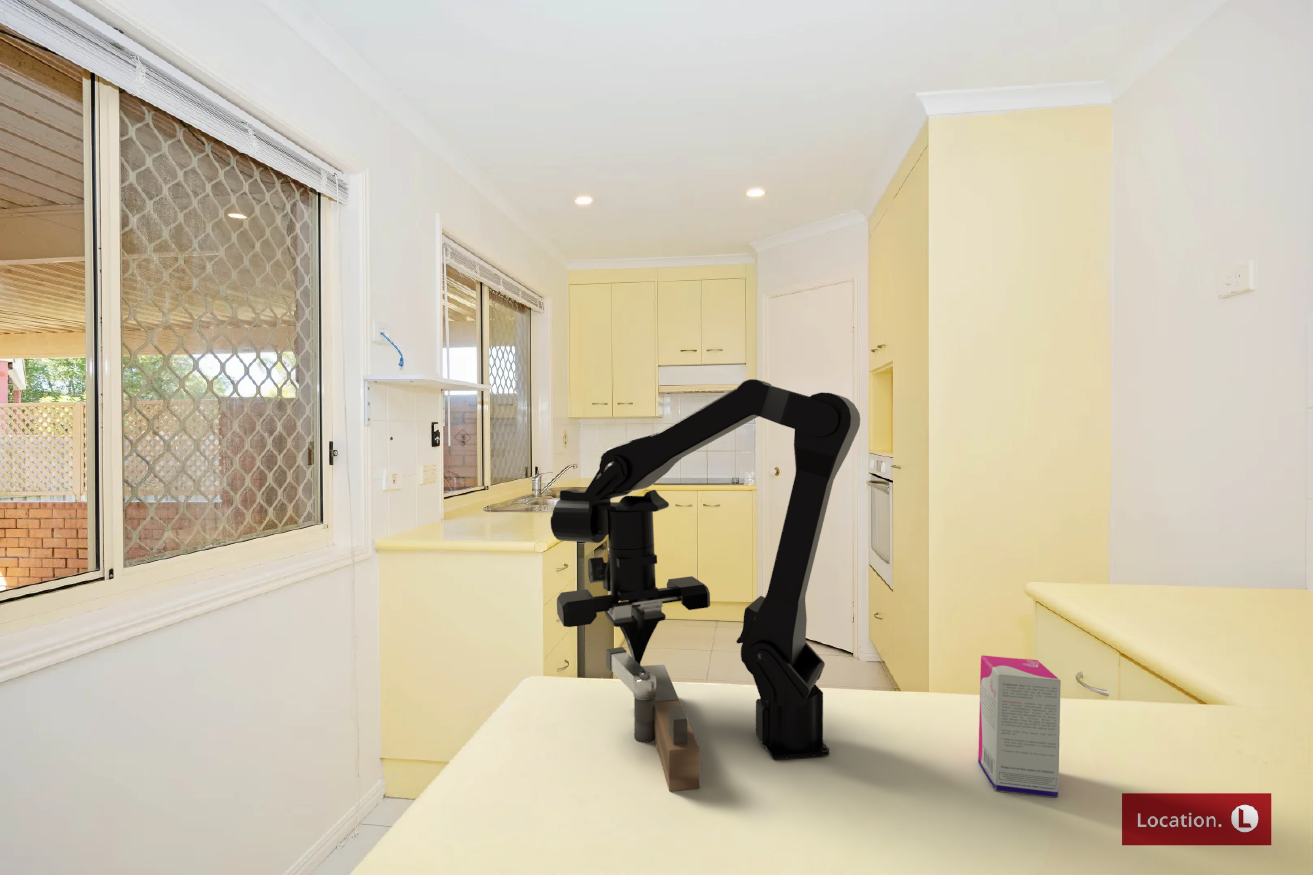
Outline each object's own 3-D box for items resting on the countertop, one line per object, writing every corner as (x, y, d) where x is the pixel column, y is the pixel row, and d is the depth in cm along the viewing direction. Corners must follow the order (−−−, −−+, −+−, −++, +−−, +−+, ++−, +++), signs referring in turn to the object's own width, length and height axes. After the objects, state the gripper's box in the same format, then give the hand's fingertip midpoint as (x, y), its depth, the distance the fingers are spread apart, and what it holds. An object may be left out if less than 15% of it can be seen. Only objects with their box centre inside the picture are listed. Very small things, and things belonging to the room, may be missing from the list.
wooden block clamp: (664, 694, 83) (664, 645, 83) (699, 788, 62) (699, 722, 62) (625, 696, 83) (625, 647, 83) (646, 792, 61) (646, 726, 61)
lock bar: (659, 698, 71) (659, 675, 71) (638, 702, 70) (638, 678, 70) (623, 663, 82) (623, 642, 82) (604, 666, 81) (604, 645, 81)
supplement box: (1061, 798, 60) (1062, 679, 60) (994, 791, 61) (994, 674, 61) (1037, 766, 66) (1038, 657, 65) (976, 760, 67) (976, 653, 67)
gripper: (679, 527, 89) (683, 635, 90) (548, 540, 84) (553, 655, 84) (709, 542, 79) (714, 664, 79) (561, 558, 73) (567, 689, 74)
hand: (636, 666), depth 80 cm, fingers closed
